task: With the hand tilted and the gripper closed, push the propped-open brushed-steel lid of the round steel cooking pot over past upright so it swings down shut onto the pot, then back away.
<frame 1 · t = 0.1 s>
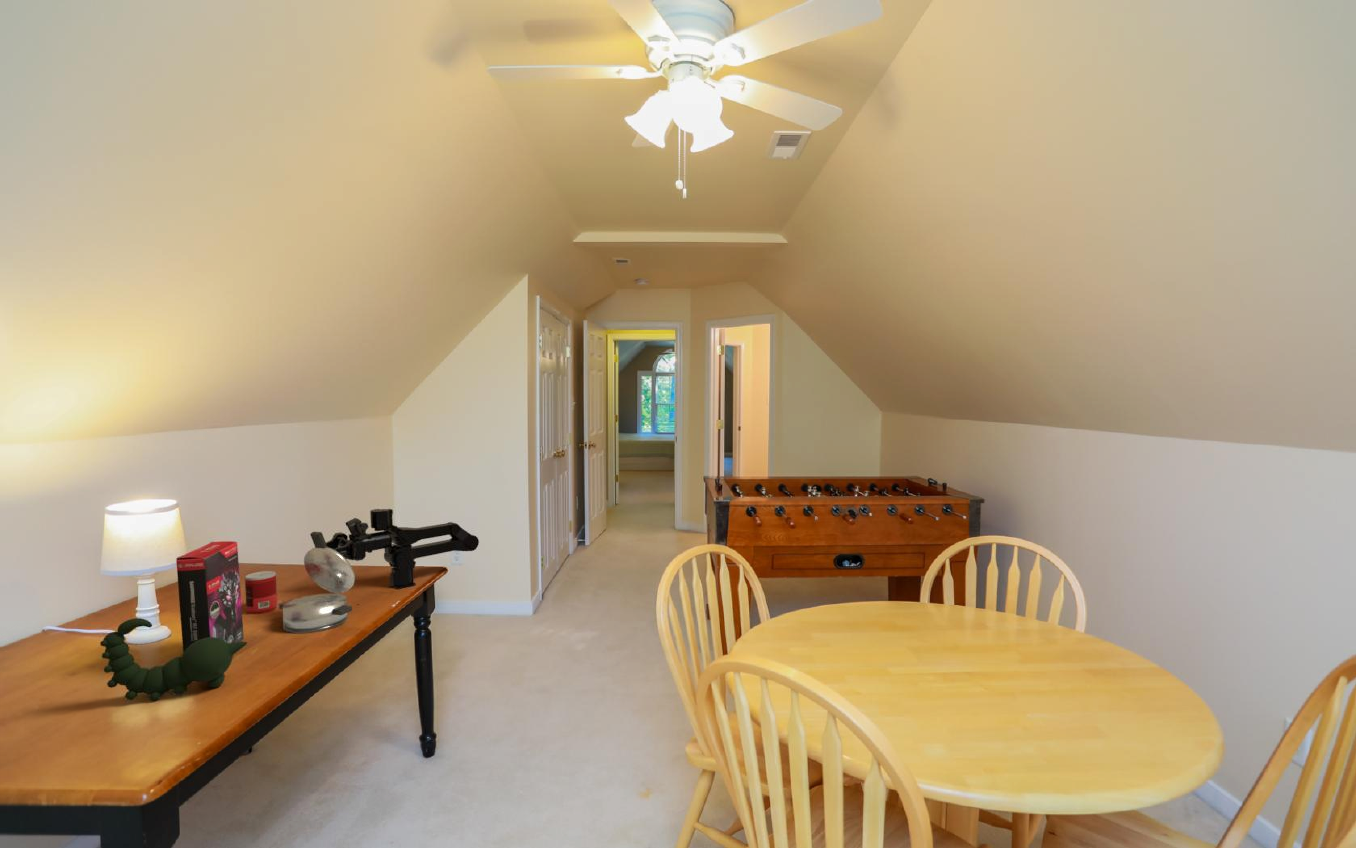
hand: (320, 551, 202), 17 cm above the table, tool horizontal, fingers open, 9 cm apart
canned food: (262, 610, 197), on the table
cooker pot: (315, 623, 186), on the table
cooker lid: (328, 562, 190), point 16 cm above the table, hinge at 68.0°
toy figurine: (180, 693, 143), on the table
graphics card box: (214, 655, 164), on the table
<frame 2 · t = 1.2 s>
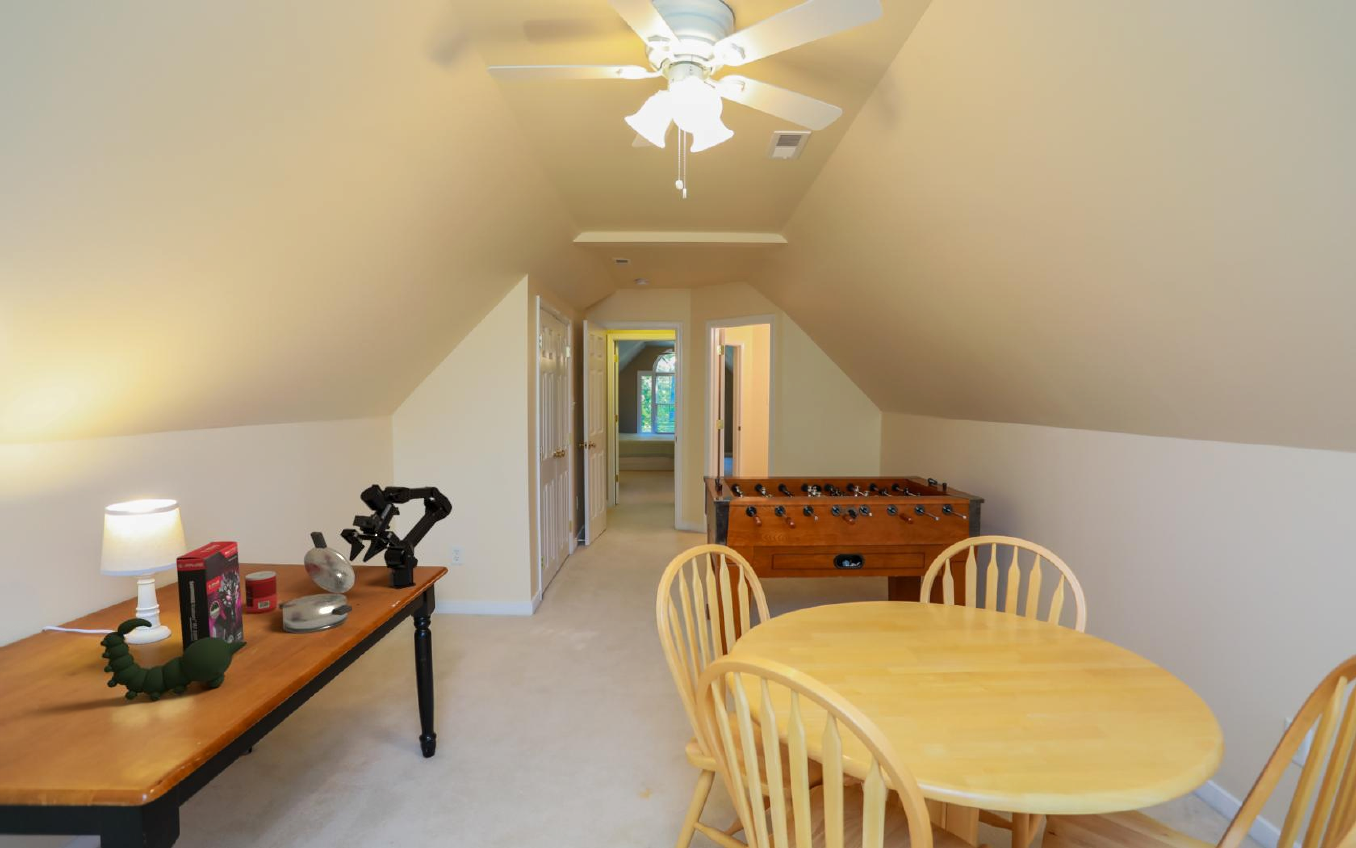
hand: (357, 561, 201), 14 cm above the table, tool tilted 45°, fingers open, 5 cm apart
nothing on the table moved.
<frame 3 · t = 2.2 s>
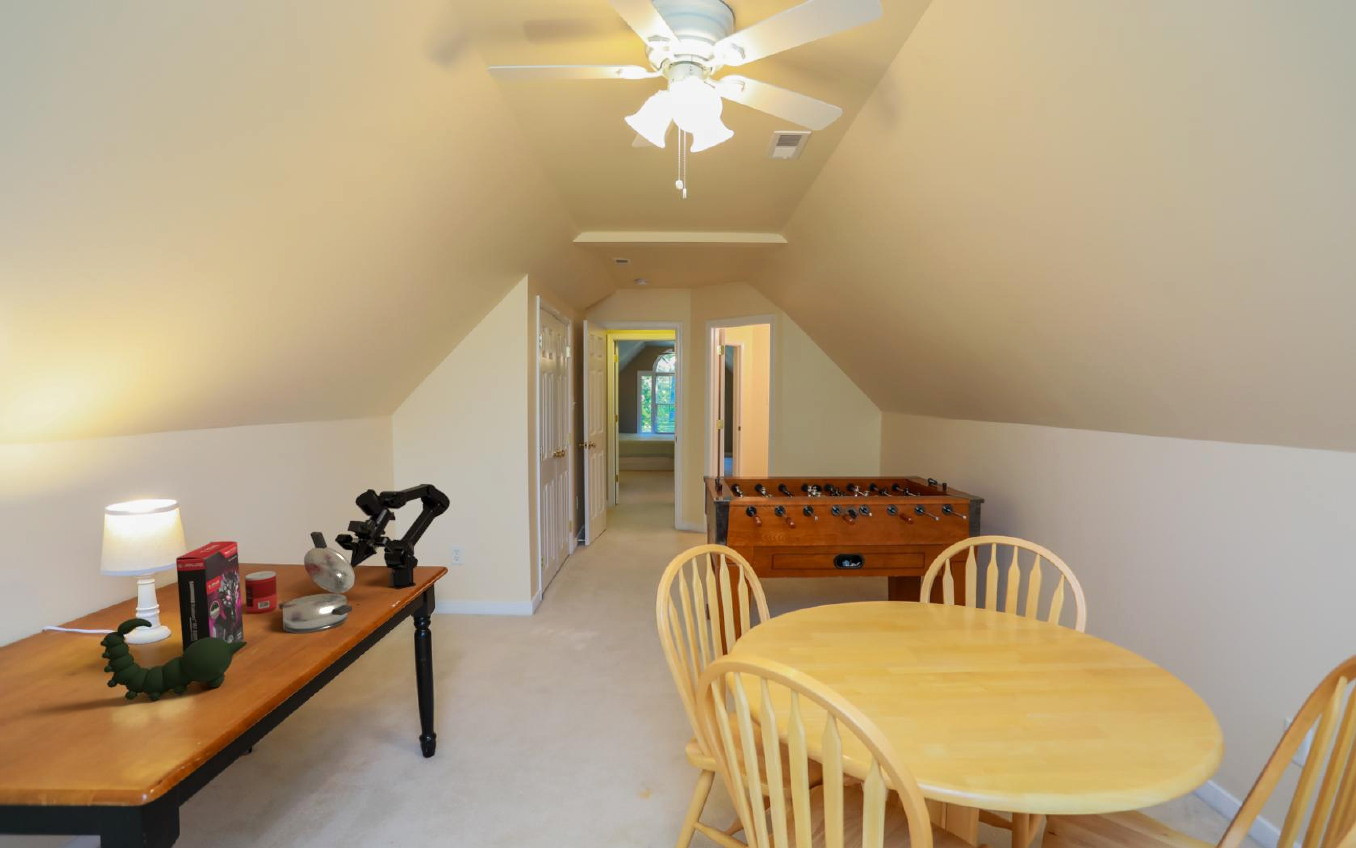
hand: (351, 567, 199), 12 cm above the table, tool tilted 45°, fingers closed
nothing on the table moved.
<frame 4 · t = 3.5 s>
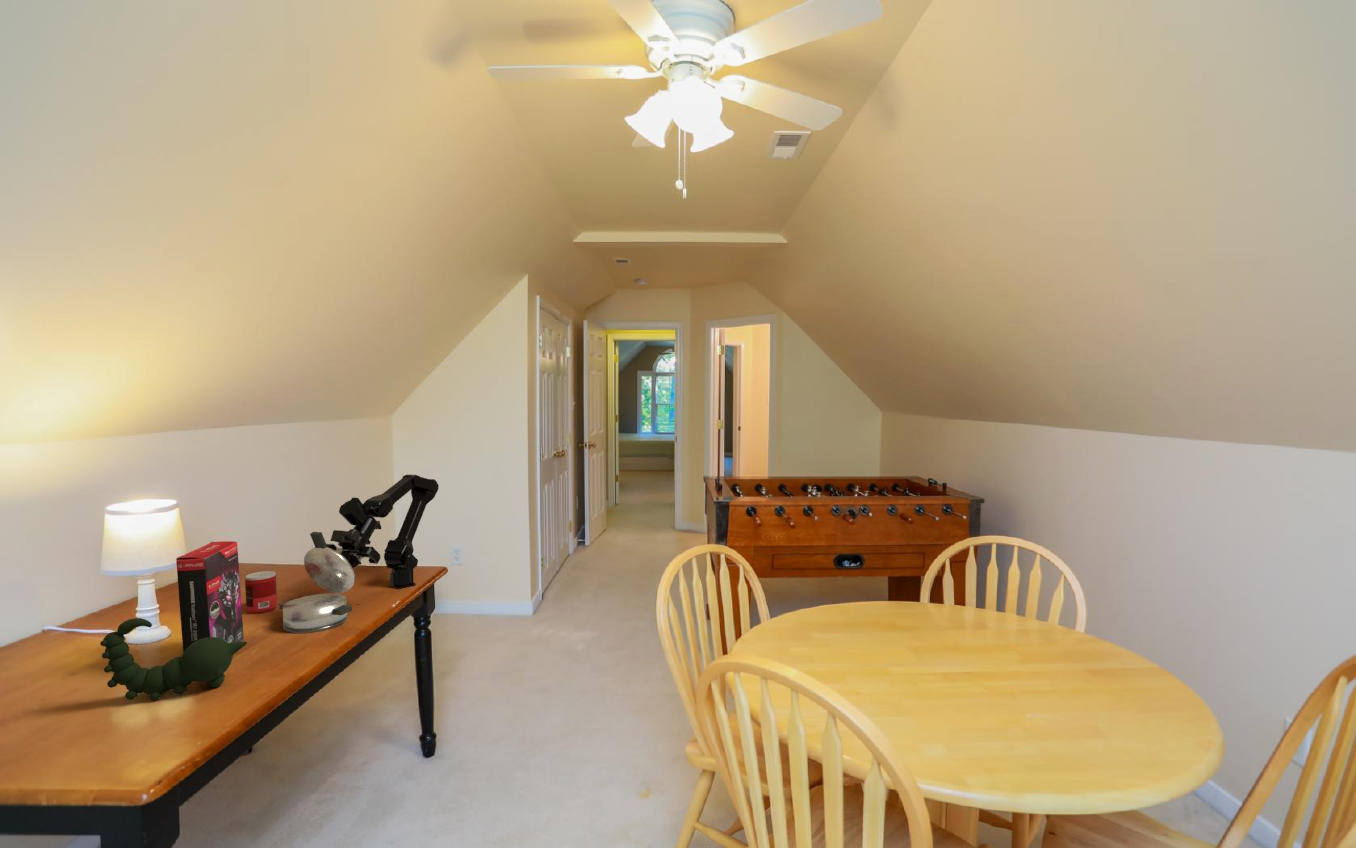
hand: (335, 578, 193), 11 cm above the table, tool tilted 45°, fingers closed, pressing on cooker lid
cooker lid: (328, 562, 190), point 16 cm above the table, hinge at 67.9°, touching gripper
everything else where it was.
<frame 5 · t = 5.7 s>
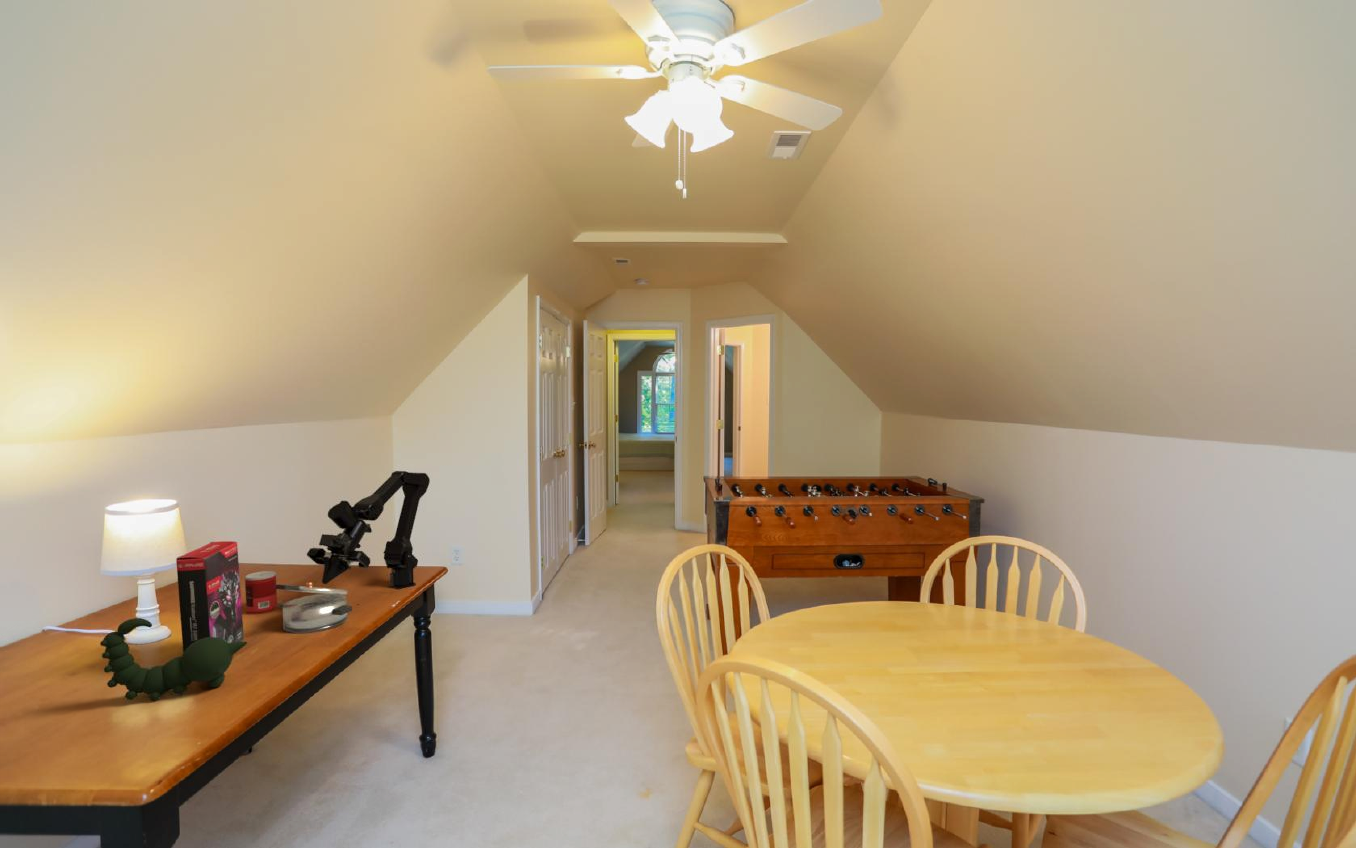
hand: (323, 583, 189), 11 cm above the table, tool tilted 45°, fingers closed
cooker lid: (310, 587, 184), point 11 cm above the table, hinge at 18.9°
everything else where it was.
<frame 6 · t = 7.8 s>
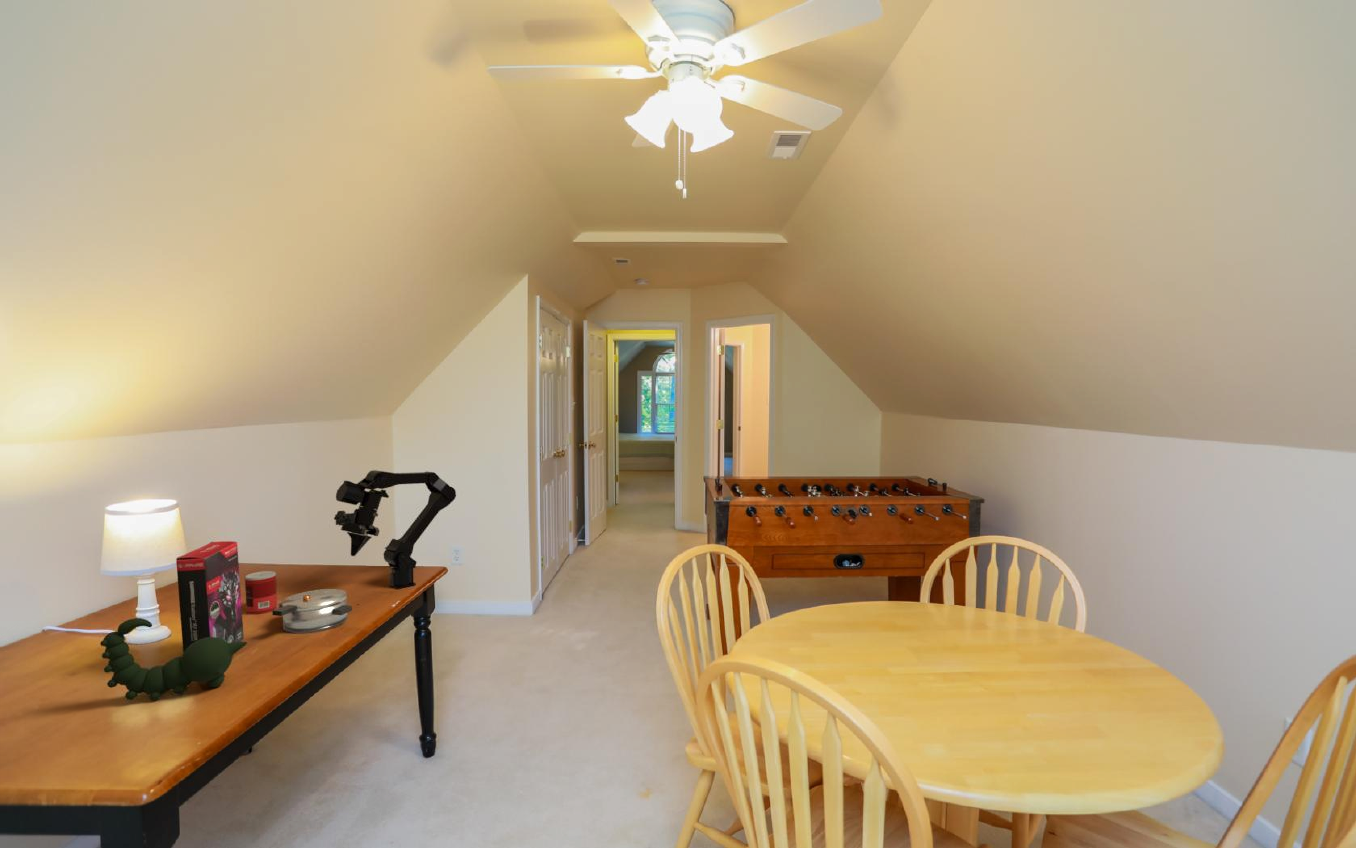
hand: (352, 555, 208), 14 cm above the table, tool tilted 20°, fingers closed
cooker lid: (308, 599, 183), point 7 cm above the table, hinge at -0.1°
everything else where it was.
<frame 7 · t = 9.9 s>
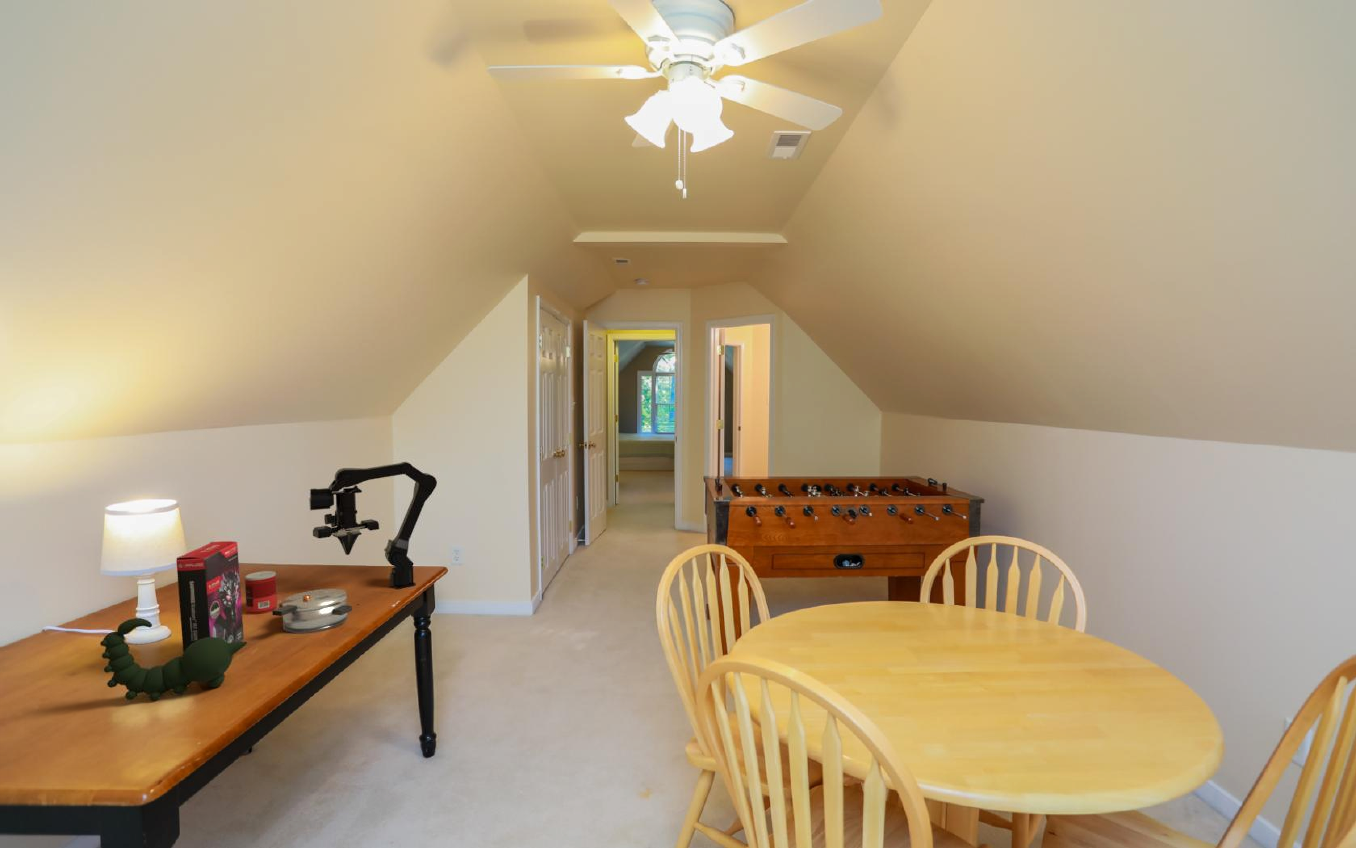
hand: (347, 554, 212), 13 cm above the table, tool pointing down, fingers closed
nothing on the table moved.
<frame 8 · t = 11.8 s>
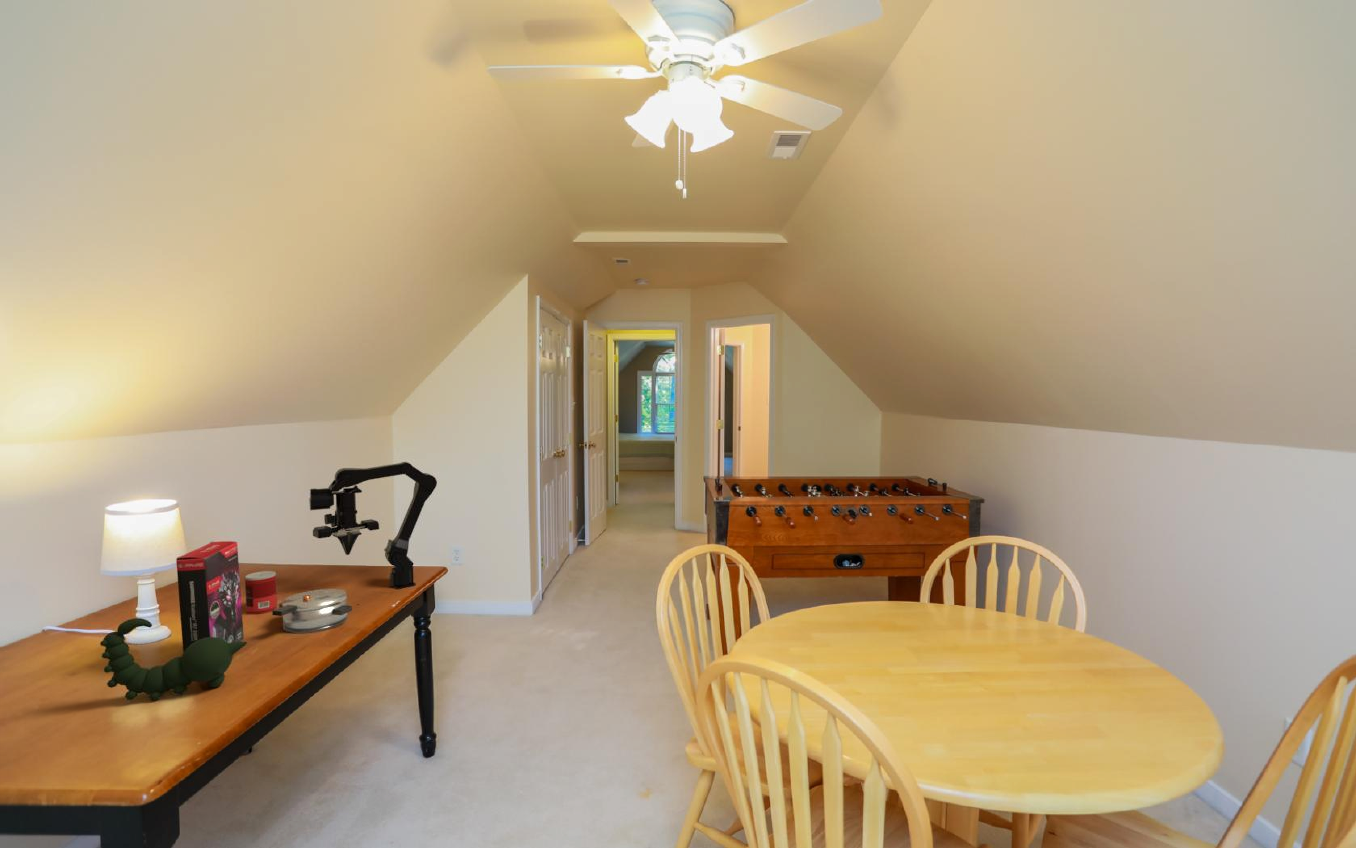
hand: (347, 554, 212), 13 cm above the table, tool pointing down, fingers closed
nothing on the table moved.
at the end: cooker lid at +0° (first picture: +68°); canned food moved 0.2 cm from its start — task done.
